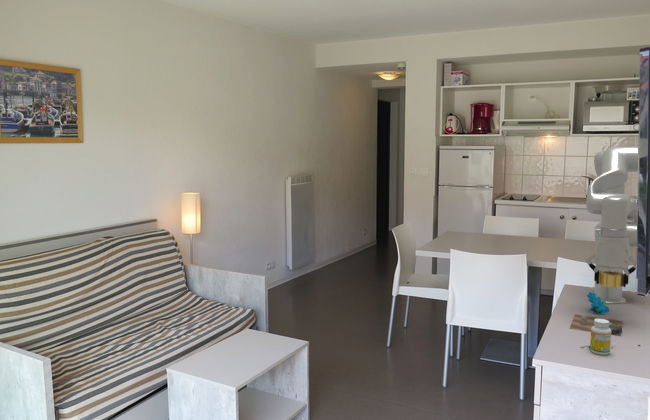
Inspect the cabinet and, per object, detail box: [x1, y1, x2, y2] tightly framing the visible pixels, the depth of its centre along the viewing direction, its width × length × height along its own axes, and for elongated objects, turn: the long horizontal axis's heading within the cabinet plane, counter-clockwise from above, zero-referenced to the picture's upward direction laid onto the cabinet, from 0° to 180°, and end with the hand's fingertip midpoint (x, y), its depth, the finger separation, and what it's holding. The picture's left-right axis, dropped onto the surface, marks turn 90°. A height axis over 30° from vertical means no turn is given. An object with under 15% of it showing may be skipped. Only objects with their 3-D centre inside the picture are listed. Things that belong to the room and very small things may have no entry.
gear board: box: [568, 313, 624, 337], centre depth 179 cm, size 17×15×5 cm
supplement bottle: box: [589, 319, 612, 356], centre depth 158 cm, size 5×5×10 cm
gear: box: [586, 291, 610, 315], centre depth 195 cm, size 11×6×10 cm
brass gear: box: [599, 270, 625, 288], centre depth 179 cm, size 7×7×4 cm
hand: (610, 284), depth 180 cm, fingers closed on brass gear, 7 cm apart
